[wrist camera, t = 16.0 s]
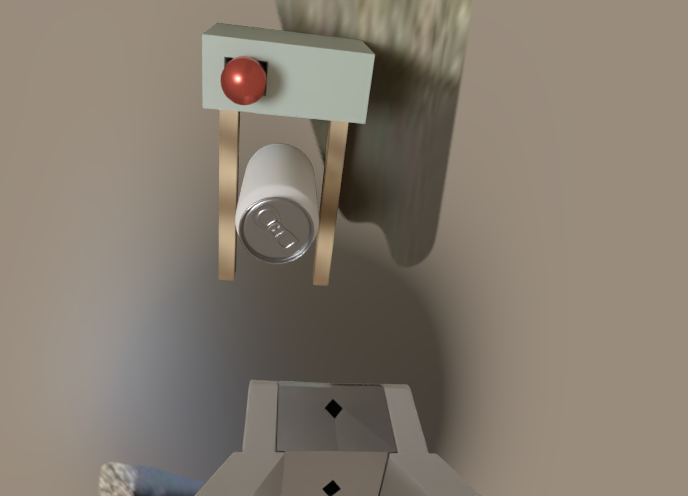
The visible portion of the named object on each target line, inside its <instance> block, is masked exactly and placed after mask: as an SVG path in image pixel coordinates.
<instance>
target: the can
mask: <svg viewBox="0 0 688 496" xmlns="http://www.w3.org/2000/svg"><path fill="white" fill-rule="evenodd" d="M318 224H319V216H318V205H317V196H316V185H315V177H314V170H313V167H312V164H311V162H310V160H309V159H308V157H307V156H306V155H305V154H304V153H303V152H302V151H300V150H299V149H298V148H295V147H293V146H291V145H288V144H281V143H277V144H270V145H266V146H264V147H262V148H261V149H259V150H258V151H257V152H256V153H255V154H254V155H253V156H252V157H251V159H250V160H249V162H248V164H247V167H246V171H245V174H244V179H243V183H242V187H241V191H240V196H239V200H238V205H237V209H236V216H235V225H236V230H237V233H238V235H239V238H240V241H241V243H242V245H243V247H244V248H245V250H246V251H247V252H248V253H249V254H250V255H251V256H253V257H254V258H256V259H258V260H259V261H262V262H265V263H269V264H285V263H289V262H292V261H295V260H296V259H298V258H300V257H301V256H302V255H303V254H305V253H306V252H307V250H308V249H309V248H310V246H311V244H312V242H313V240H314V238H315V236H316V234H317V230H318Z"/></svg>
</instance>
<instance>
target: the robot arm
mask: <svg viewBox="0 0 688 496" xmlns="http://www.w3.org/2000/svg"><path fill="white" fill-rule="evenodd" d="M195 496H480V495H479V494H478V493H477V492H476V491H475V490H474V489H473V488H472V487H471V486H470V485H469V484H468V483H467V482H466V481H465V480H464V479H463V478H462V477H460V476H459V475H458V474H457V473H456V472H455V471H454V470H453V469H452V468H451V467H450V466H449V465H448V464H447V463H446V462H445V461H444V460H442V459H441V458H440V457H439V456H438V455H437V454H429V453H428V450H427V446H426V442H425V439H424V435H423V432H422V429H421V425H420V422H419V418H418V415H417V411H416V408H415V404H414V401H413V397H412V394H411V391H410V388H409V387H408V385H407V384H381V385H380V384H342V383H341V384H340V383H339V384H338V383H329V384H328V383H310V382H291V381H278V382H277V381H261V380H251V381H250V385H249V391H248V402H247V411H246V421H245V430H244V440H243V450H242V452H233V453H232V455H231V456H230V457H229V458H228V459H227V460H226V461H225V462H224V464H223V465H222V466H221V467H220V468H219V469H218V470H217V471H216V472H215V473H214V475H213V476H212V477H211V478H210V479H209V480H208V481H207V482H206V484H205V485H204V486H203V487H202V488H201V489H200V490H199V491H198V492H197V494H196V495H195Z"/></svg>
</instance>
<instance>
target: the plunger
mask: <svg viewBox="0 0 688 496" xmlns="http://www.w3.org/2000/svg"><path fill="white" fill-rule="evenodd" d="M220 81H221V87H222V90H223V92H224V94H225V95H226V97H227V98H228V99H229V100H231V101H232V102H234V103H236V104H239V105H250V104H253V103H255V102H257V101H258V100H259V99H260V98H261V97H262V95H263V94H264V91H265V87H266V81H267V78H266V73H265V70H264V68H263V67H262V61H258V60H255V59H253V58H251V57H248V56H239V57H235V58H233V59H232V60H230V61H229V62H228V64H227V65H226V66H225V68H224V69H223V71H222V74H221V80H220Z"/></svg>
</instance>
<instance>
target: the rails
mask: <svg viewBox="0 0 688 496" xmlns="http://www.w3.org/2000/svg"><path fill="white" fill-rule="evenodd" d="M348 123H349V122H341V121H331V120H329V129H328V138H327V148H326V157H325V166H324V175H323V185H322V194H321V203H320V212H319V224H318V231H317V240H316V250H315V259H314V268H313V284H314V285H328V281H329V273H330V265H331V257H332V250H333V241H334V233H335V225H336V217H337V210H338V202H339V194H340V186H341V178H342V170H343V162H344V155H345V147H346V139H347V131H348ZM239 126H240V111H230V110H220V164H219V168H220V169H219V170H220V171H219V172H220V173H219V174H220V175H219V280H234V277H235V272H236V245H237V230H236V225H235V216H236V209H237V205H238V167H239Z"/></svg>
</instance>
